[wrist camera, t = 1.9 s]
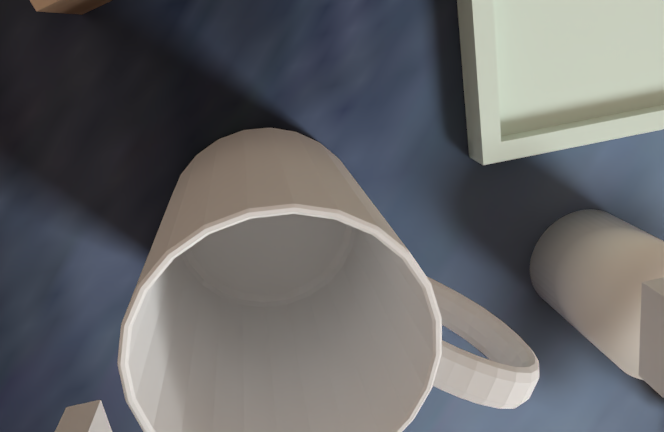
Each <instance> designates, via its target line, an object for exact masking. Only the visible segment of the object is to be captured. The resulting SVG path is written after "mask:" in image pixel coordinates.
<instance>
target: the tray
mask: <svg viewBox="0 0 664 432" xmlns="http://www.w3.org/2000/svg"><path fill="white" fill-rule="evenodd" d="M457 8H458V21H459V34H460V47H461V59H462V72H463V85H464V98H465V110H466V123H467V136H468V149H469V157H470V158H472V159H473V160H475V161H477V162H479V163H480V164H482V165H487V164H492V163H497V162H502V161H507V160H512V159H517V158H522V157H527V156H532V155H537V154H542V153H547V152H552V151H557V150H562V149H567V148H572V147H577V146H582V145H587V144H592V143H597V142H602V141H607V140H612V139H617V138H622V137H627V136H632V135H637V134H642V133H647V132H652V131H657V130H662V129H664V0H457Z"/></svg>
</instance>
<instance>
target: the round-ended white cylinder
mask: <svg viewBox="0 0 664 432" xmlns="http://www.w3.org/2000/svg"><path fill="white" fill-rule="evenodd" d="M530 277H531V281H532V284H533V287H534V289H535V290H536V292H537V293H538V295H539V296H540V297H541V298H542V299H543V300H544V301H546V302H547V303H548V304H549V305H550V306H551V307H552V308H553V309H554V310H556V311H557V312H558V313H559V314H560V315H561V316H562V317H563V318H565V319H566V320H567V321H568V322H569V323H570V324H571V325H572V326H573V327H575V328H576V329H577V330H578V331H579V332H580V333H581V334H582V335H583V336H585V337H586V338H587V339H588V340H589V341H590V342H591V343H592V344H593V345H595V346H596V347H597V348H598V349H599V350H600V351H601V352H602V353H604V354H605V355H606V356H607V357H608V358H609V359H610V360H611V361H612V362H614V363H615V364H616V365H617V366H618V367H619V368H620V369H621V370H623V371H624V372H625V373H627V374H628V375H630V376H632V377H635V378H637V379H641V380H643V379H642V378H641V377H640V376H639V348H640V318H641V289H642V282H644V281H649V280H653V279H658V278H663V277H664V241H662V240H660V239H658V238H656V237H654V236H652V235H650V234H648V233H646V232H645V231H643V230H641V229H639V228H637V227H635V226H633V225H631V224H629V223H627V222H625V221H623V220H621V219H619V218H617V217H615V216H613V215H611V214H609V213H607V212H604V211H600V210H594V209H586V210H579V211H575V212H572V213H570V214H567V215H565V216H563V217H562V218H560V219H558V220H557V221H556V222H554V223H553V224H552V225H551V226H550V227H548V229H547V230H546V231H545V232H544V233H543V234H542V236H541V237H540V238H539V240H538V242H537V244H536V245H535V248H534V250H533V253H532V256H531V261H530Z"/></svg>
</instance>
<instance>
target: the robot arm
mask: <svg viewBox="0 0 664 432" xmlns="http://www.w3.org/2000/svg"><path fill="white" fill-rule="evenodd" d="M639 376H640V377H641V378H642V379H643V380H644V381H645V382H646V383H647V384H648V385H650V386H651V387H652V388H653V389H654V390H655V391H656V392H657V393H658V394H660V395H661V396H662V397H663V398H664V277H663V278H658V279H653V280H649V281H644V282H642V289H641V318H640V348H639ZM55 432H112V430H111V427H110V424H109V422H108V419H107V416H106V413H105V411H104V408H103V405H102V402H101V400H97V401H93V402H88V403H83V404H79V405H74V406H70V407H66V409H65V411H64V413H63V415H62V418H61V420H60V422H59V424H58V426H57V428H56V430H55Z"/></svg>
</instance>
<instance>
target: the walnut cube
mask: <svg viewBox="0 0 664 432" xmlns="http://www.w3.org/2000/svg"><path fill="white" fill-rule="evenodd" d="M110 1H112V0H30V2H31V3H32V5H33V7H34V8H35V10H36V11H38V12H52V13H66V14H80V15H83V14H85V13H87V12H89V11H91V10H93V9H95V8H97V7H99V6H102V5H104V4H106V3H108V2H110Z"/></svg>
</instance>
